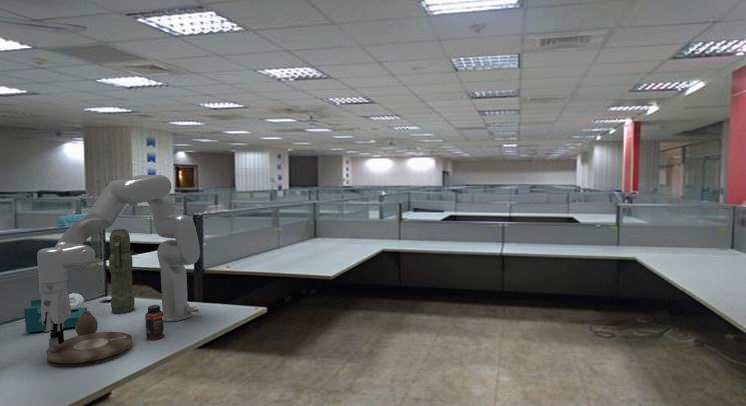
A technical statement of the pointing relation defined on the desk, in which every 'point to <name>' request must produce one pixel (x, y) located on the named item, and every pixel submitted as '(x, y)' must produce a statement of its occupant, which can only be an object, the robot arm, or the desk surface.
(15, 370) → the desk surface
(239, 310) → the desk surface
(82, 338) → the disc
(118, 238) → the thermos
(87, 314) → the vase
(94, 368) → the desk surface
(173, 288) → the robot arm
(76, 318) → the teal l-shaped bracket
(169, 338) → the desk surface
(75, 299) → the motion sensor
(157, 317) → the supplement bottle
